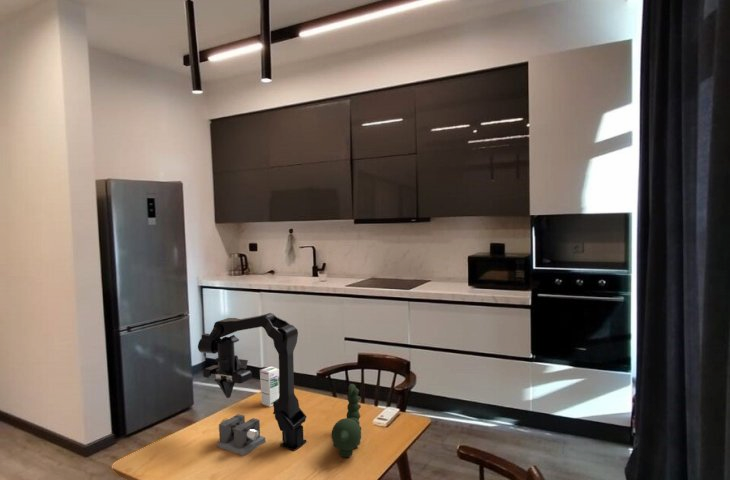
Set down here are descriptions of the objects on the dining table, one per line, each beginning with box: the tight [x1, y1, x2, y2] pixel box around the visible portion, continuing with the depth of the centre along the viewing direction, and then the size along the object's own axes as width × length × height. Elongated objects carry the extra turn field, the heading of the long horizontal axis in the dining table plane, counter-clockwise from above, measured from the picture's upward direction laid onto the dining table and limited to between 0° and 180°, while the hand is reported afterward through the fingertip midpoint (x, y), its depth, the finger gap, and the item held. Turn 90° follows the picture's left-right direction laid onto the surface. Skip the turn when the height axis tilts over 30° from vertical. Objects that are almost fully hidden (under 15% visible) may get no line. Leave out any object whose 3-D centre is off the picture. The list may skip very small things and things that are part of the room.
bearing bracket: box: [217, 413, 266, 457], centre depth 144 cm, size 12×10×8 cm
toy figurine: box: [331, 383, 362, 458], centre depth 141 cm, size 9×19×25 cm
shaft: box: [220, 418, 259, 441], centre depth 144 cm, size 15×5×5 cm, turn 60°
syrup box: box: [259, 366, 280, 408], centre depth 177 cm, size 6×6×14 cm
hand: (228, 397), depth 152 cm, fingers closed
